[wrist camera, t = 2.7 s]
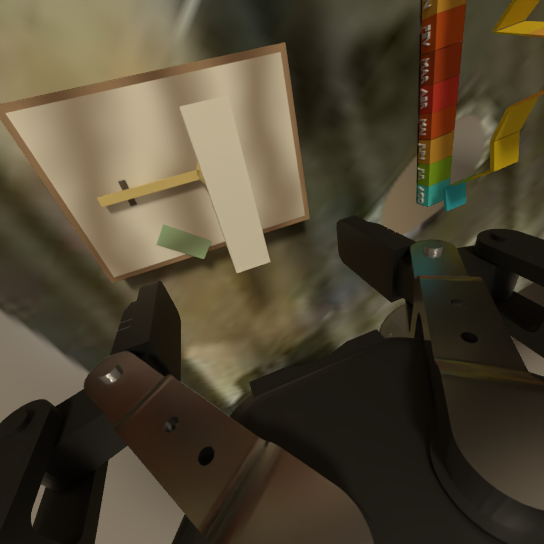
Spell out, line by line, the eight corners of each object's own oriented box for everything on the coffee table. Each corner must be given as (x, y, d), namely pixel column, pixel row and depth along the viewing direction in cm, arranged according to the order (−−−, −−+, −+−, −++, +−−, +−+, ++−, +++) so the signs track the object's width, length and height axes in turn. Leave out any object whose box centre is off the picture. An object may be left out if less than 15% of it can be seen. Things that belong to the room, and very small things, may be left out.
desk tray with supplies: (275, 51, 21) (286, 41, 19) (301, 216, 29) (311, 223, 26) (13, 108, 18) (-11, 105, 16) (120, 274, 26) (114, 288, 24)
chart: (422, -239, 16) (1199, -1442, 4) (463, -248, 17) (1310, -1392, 4) (414, 203, 33) (556, 249, 20) (435, 194, 33) (588, 234, 21)
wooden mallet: (211, 110, 19) (235, 93, 10) (240, 211, 23) (275, 260, 15) (68, 145, 18) (-47, 160, 9) (127, 246, 22) (88, 324, 13)
